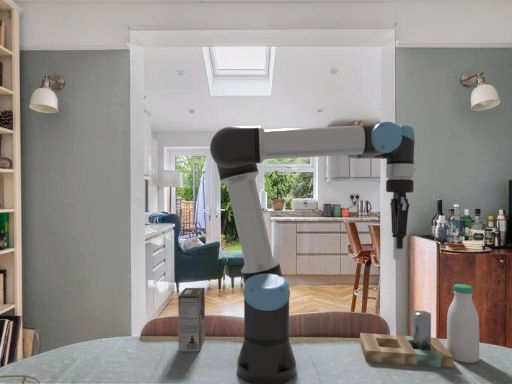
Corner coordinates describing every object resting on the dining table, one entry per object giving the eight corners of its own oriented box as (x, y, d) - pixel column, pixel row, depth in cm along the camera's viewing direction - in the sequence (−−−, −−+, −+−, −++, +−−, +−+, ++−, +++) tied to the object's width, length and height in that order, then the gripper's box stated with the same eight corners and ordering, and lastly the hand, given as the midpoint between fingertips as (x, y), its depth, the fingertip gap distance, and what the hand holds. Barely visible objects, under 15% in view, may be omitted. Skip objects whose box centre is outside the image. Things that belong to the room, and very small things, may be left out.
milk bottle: (484, 365, 93) (484, 290, 93) (452, 362, 95) (452, 288, 95) (472, 352, 101) (472, 282, 101) (443, 350, 102) (443, 281, 102)
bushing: (415, 359, 96) (415, 315, 96) (410, 351, 101) (410, 310, 101) (433, 360, 96) (433, 316, 96) (427, 352, 100) (428, 310, 100)
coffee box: (184, 338, 110) (184, 287, 110) (205, 338, 110) (205, 287, 110) (177, 351, 101) (177, 295, 101) (200, 351, 101) (200, 296, 101)
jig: (365, 361, 95) (365, 350, 95) (360, 342, 107) (360, 332, 107) (453, 368, 91) (453, 356, 91) (437, 348, 103) (437, 337, 103)
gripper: (419, 178, 96) (418, 264, 96) (407, 180, 109) (406, 255, 109) (390, 178, 98) (389, 262, 98) (382, 179, 110) (381, 254, 110)
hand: (398, 259), depth 103 cm, fingers closed
